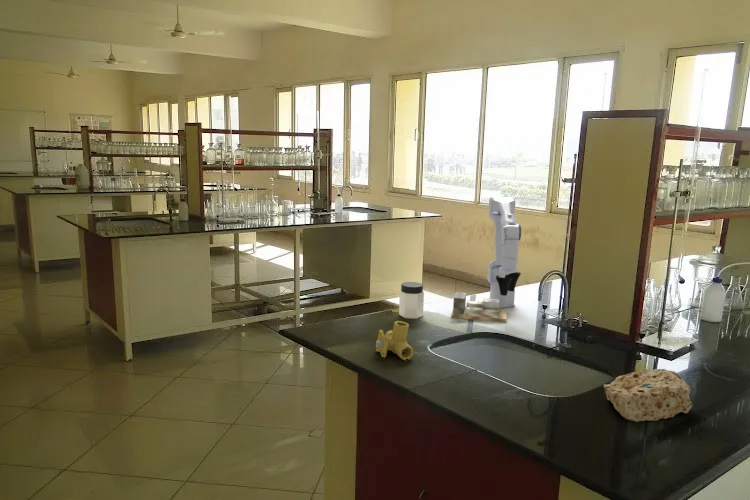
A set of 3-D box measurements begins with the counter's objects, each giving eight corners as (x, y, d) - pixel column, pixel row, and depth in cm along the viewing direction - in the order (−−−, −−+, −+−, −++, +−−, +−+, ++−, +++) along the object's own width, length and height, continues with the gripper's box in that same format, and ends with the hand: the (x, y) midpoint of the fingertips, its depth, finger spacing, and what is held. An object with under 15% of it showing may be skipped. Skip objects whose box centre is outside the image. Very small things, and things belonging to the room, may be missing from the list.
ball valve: (396, 347, 178) (367, 346, 175) (402, 317, 177) (373, 315, 173) (413, 364, 167) (382, 364, 163) (419, 332, 165) (389, 330, 161)
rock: (640, 432, 128) (633, 389, 128) (598, 417, 142) (591, 378, 142) (709, 411, 134) (702, 370, 134) (662, 399, 148) (656, 362, 148)
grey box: (498, 311, 213) (499, 298, 212) (498, 317, 205) (498, 304, 204) (482, 310, 214) (482, 297, 213) (481, 316, 206) (482, 303, 205)
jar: (423, 312, 214) (424, 282, 211) (422, 319, 206) (424, 287, 203) (399, 311, 214) (400, 281, 212) (398, 318, 206) (399, 286, 204)
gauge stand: (505, 313, 216) (507, 295, 214) (506, 322, 204) (507, 303, 203) (453, 308, 220) (454, 290, 219) (451, 317, 208) (452, 298, 207)
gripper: (506, 253, 214) (503, 287, 216) (491, 258, 202) (489, 295, 204) (524, 255, 210) (521, 290, 212) (510, 261, 198) (508, 298, 201)
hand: (507, 293), depth 208 cm, fingers open, 7 cm apart
